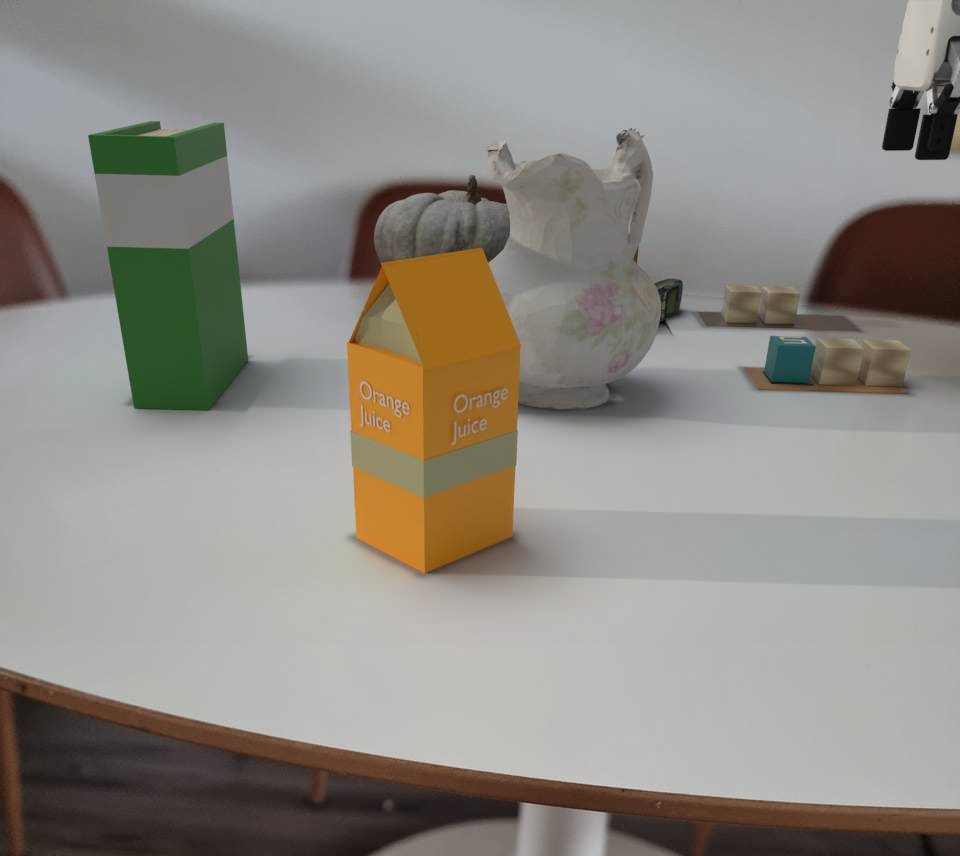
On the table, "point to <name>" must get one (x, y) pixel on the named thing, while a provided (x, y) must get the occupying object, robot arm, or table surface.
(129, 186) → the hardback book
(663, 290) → the mobile phone
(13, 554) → the table surface
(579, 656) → the table surface
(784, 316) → the left board
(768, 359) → the teal block
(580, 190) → the ceramic pitcher
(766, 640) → the table surface
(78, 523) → the table surface
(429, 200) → the gourd
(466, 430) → the orange juice
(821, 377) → the right board
